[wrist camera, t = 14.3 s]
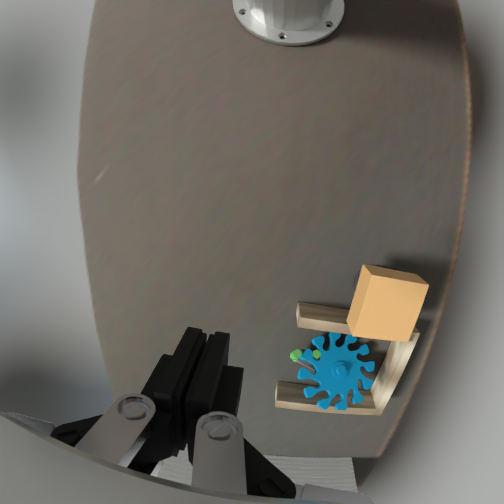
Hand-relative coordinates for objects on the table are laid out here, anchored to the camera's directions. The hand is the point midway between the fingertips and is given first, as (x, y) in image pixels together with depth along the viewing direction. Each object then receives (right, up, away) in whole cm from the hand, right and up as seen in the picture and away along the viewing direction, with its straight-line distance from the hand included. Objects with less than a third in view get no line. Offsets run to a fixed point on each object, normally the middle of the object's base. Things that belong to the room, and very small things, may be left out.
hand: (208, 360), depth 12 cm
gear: (+12, -8, +26) cm, 30 cm away
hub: (+15, 0, +18) cm, 24 cm away
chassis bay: (+13, -9, +26) cm, 30 cm away
